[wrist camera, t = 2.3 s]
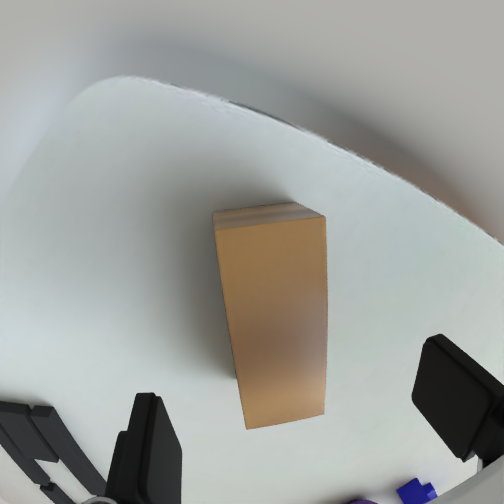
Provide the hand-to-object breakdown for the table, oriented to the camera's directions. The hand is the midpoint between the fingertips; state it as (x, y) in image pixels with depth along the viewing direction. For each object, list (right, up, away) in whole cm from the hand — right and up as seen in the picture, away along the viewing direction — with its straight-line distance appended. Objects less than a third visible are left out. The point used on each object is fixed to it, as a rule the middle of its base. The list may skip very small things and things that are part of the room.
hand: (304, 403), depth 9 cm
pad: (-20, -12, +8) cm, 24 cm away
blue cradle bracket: (+21, -28, +19) cm, 40 cm away
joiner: (-1, +2, +7) cm, 7 cm away
